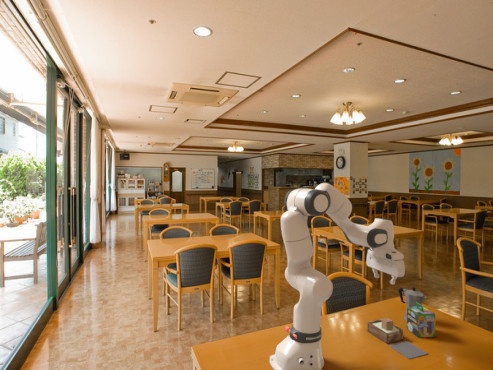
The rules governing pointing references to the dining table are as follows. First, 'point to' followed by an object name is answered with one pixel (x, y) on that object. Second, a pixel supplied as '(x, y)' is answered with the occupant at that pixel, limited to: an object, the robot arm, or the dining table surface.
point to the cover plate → (379, 324)
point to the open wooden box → (383, 335)
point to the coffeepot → (411, 298)
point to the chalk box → (421, 321)
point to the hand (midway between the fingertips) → (384, 280)
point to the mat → (408, 349)
